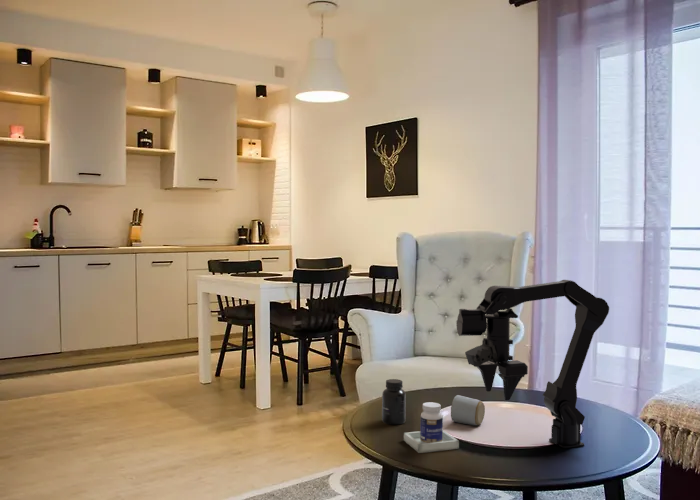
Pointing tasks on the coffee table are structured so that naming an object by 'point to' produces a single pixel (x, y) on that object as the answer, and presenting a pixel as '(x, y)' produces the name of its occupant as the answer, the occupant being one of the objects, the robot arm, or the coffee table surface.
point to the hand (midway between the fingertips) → (497, 395)
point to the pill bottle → (431, 423)
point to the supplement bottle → (393, 403)
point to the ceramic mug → (467, 410)
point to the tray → (446, 443)
